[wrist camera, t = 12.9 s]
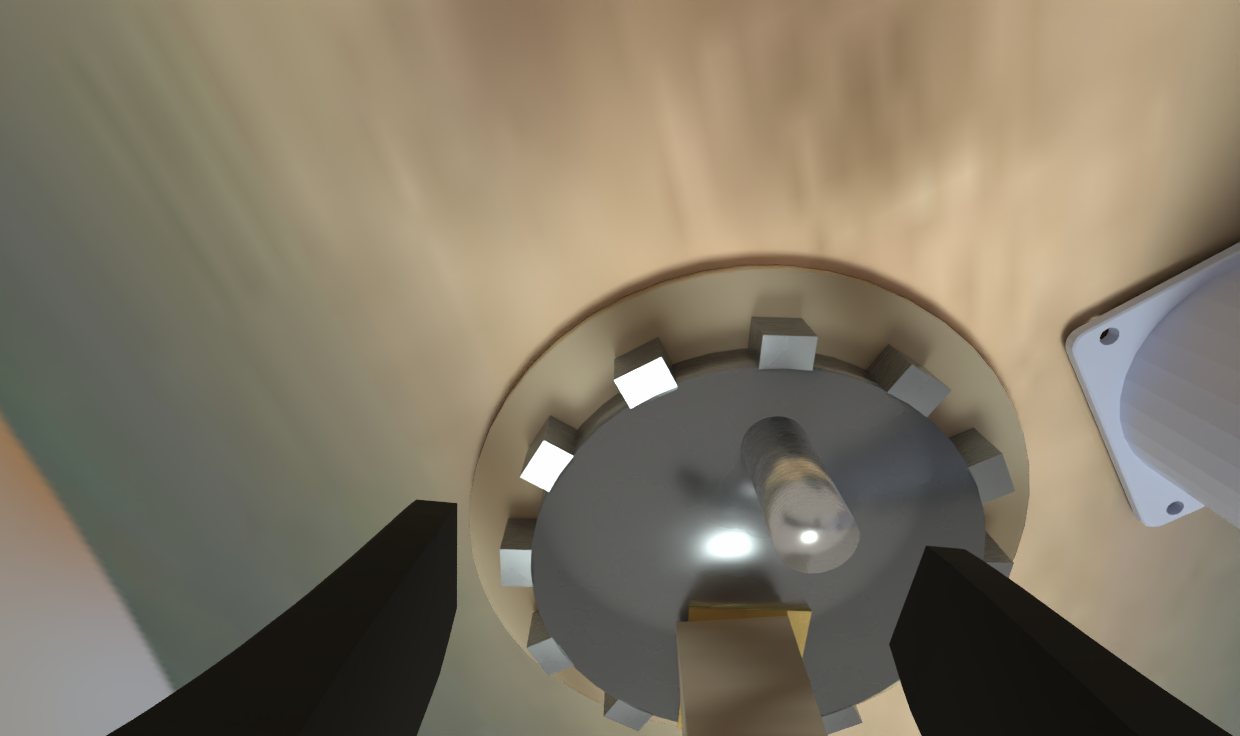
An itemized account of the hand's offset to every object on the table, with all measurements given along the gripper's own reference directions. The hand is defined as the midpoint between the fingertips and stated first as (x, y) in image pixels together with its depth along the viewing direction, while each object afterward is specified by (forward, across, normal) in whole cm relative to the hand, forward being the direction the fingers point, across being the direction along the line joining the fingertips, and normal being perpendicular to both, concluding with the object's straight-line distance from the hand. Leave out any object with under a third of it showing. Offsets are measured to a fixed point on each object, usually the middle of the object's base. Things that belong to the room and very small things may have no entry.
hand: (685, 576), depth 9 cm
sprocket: (+9, -4, +6) cm, 12 cm away
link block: (+7, -4, +10) cm, 13 cm away
